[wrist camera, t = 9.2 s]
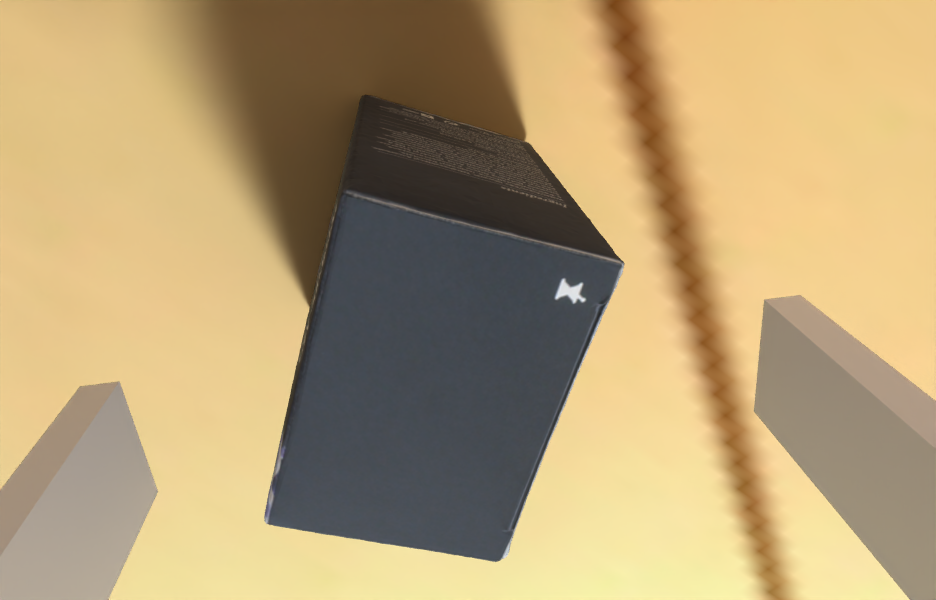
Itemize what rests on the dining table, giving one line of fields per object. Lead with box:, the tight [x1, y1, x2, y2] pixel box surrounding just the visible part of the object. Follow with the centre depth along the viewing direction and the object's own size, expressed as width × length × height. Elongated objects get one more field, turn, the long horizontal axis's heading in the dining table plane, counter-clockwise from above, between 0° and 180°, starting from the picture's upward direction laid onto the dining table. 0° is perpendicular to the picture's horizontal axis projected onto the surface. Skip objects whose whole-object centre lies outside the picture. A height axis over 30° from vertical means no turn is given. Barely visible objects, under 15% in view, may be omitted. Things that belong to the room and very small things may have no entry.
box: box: [264, 95, 624, 562], centre depth 19 cm, size 8×6×11 cm
